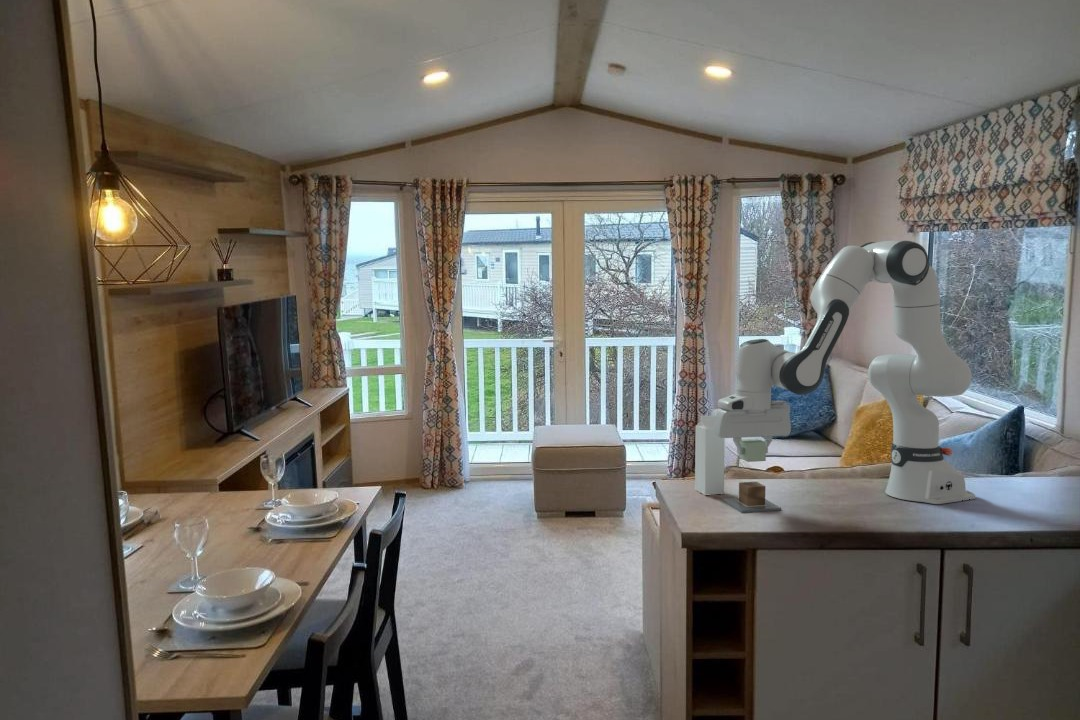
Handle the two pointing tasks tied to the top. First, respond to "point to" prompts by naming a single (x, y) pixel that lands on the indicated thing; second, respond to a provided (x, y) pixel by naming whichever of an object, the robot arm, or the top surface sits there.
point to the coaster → (743, 508)
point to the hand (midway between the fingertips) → (752, 453)
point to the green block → (753, 450)
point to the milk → (709, 458)
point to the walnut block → (751, 493)
